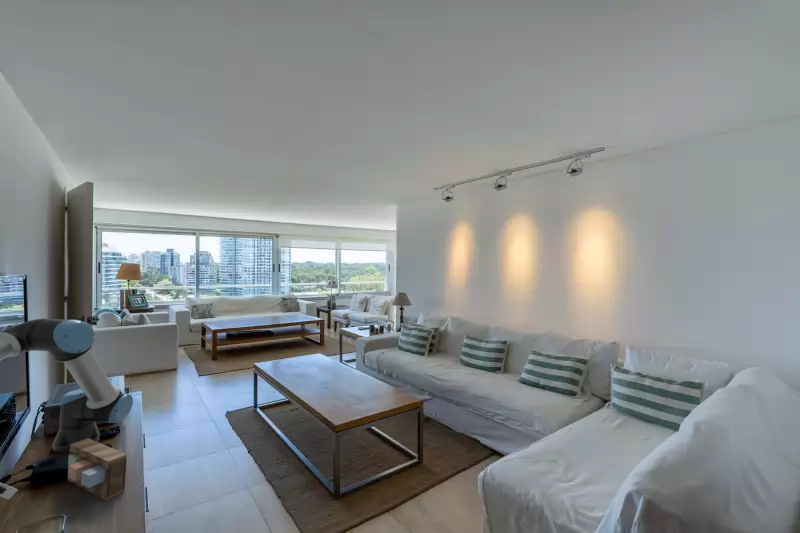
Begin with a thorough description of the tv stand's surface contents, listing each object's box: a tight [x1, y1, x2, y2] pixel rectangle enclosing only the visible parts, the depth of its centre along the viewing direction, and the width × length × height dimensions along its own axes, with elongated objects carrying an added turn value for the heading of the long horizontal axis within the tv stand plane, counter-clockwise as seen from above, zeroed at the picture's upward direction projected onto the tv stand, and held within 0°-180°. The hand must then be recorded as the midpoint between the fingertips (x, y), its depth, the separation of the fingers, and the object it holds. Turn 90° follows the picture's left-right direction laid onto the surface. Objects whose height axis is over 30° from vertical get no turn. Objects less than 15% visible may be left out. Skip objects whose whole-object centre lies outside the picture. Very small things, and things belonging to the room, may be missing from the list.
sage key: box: [67, 453, 80, 467], centre depth 130 cm, size 4×5×4 cm
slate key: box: [81, 465, 106, 488], centre depth 120 cm, size 4×5×4 cm
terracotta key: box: [67, 459, 93, 481], centre depth 124 cm, size 4×5×4 cm
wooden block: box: [67, 438, 128, 501], centre depth 128 cm, size 24×6×13 cm, turn 66°
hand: (12, 493), depth 109 cm, fingers closed
